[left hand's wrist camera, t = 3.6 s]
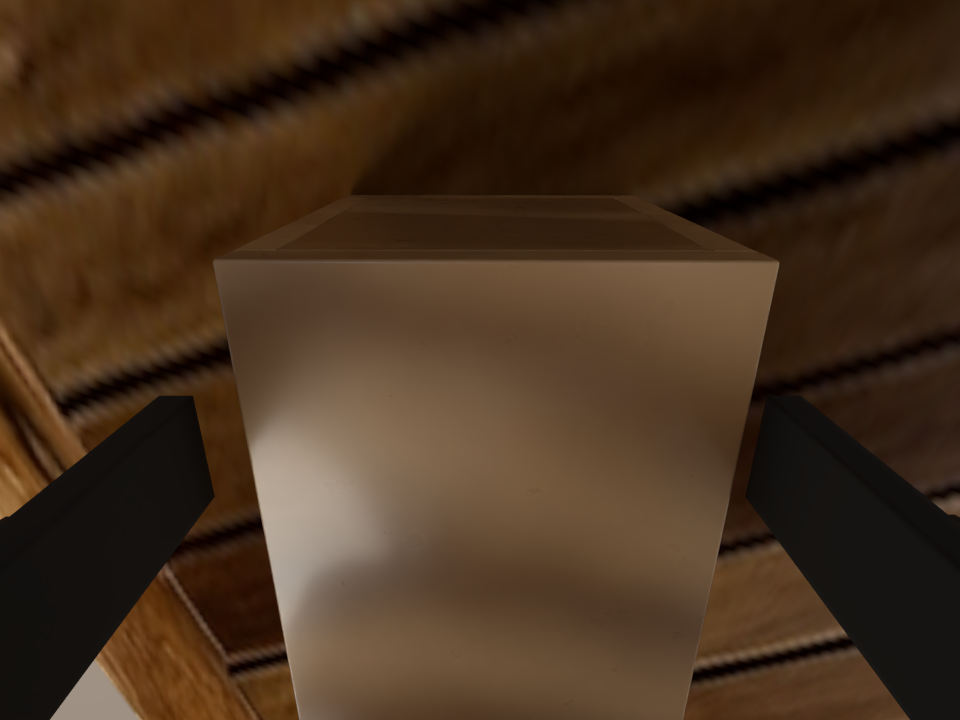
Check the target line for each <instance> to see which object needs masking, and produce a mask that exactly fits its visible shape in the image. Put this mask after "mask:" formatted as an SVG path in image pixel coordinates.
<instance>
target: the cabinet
mask: <svg viewBox="0 0 960 720" xmlns="http://www.w3.org/2000/svg"><path fill="white" fill-rule="evenodd" d="M213 264H214V270H215V275H216V280H217V286H218V291H219V296H220V302H221V307H222V312H223V318H224V323H225V328H226V333H227V339H228V344H229V349H230V355H231V360H232V365H233V371H234V376H235V381H236V386H237V392H238V397H239V402H240V408H241V413H242V418H243V424H244V429H245V434H246V439H247V445H248V450H249V455H250V461H251V466H252V471H253V477H254V482H255V487H256V493H257V498H258V503H259V508H260V514H261V519H262V524H263V530H264V535H265V540H266V546H267V551H268V556H269V561H270V567H271V572H272V577H273V583H274V588H275V593H276V599H277V604H278V609H279V614H280V620H281V625H282V630H283V636H284V641H285V646H286V652H287V657H288V662H289V667H290V673H291V678H292V683H293V689H294V694H295V699H296V705H297V710H298V715H299V720H683V717H684V712H685V708H686V703H687V698H688V693H689V689H690V684H691V679H692V675H693V670H694V665H695V660H696V656H697V651H698V646H699V641H700V637H701V632H702V627H703V623H704V618H705V613H706V608H707V604H708V599H709V594H710V590H711V585H712V580H713V575H714V571H715V566H716V561H717V556H718V552H719V547H720V542H721V538H722V533H723V528H724V523H725V519H726V514H727V509H728V504H729V500H730V495H731V490H732V486H733V481H734V476H735V471H736V467H737V462H738V457H739V452H740V448H741V443H742V438H743V434H744V429H745V424H746V419H747V415H748V410H749V405H750V401H751V396H752V391H753V386H754V382H755V377H756V372H757V367H758V363H759V358H760V353H761V349H762V344H763V339H764V334H765V330H766V325H767V320H768V315H769V311H770V306H771V301H772V297H773V292H774V287H775V282H776V278H777V273H778V268H779V261H777V260H775V259H773V258H771V257H769V256H766V255H764V254H762V253H760V252H758V251H754V250H752V249H750V248H748V247H745V246H743V245H741V244H739V243H737V242H734V241H732V240H730V239H728V238H726V237H723V236H721V235H719V234H717V233H715V232H712V231H710V230H708V229H706V228H703V227H701V226H699V225H697V224H695V223H692V222H690V221H688V220H686V219H684V218H681V217H679V216H677V215H675V214H673V213H670V212H668V211H666V210H664V209H662V208H659V207H657V206H655V205H653V204H651V203H648V202H646V201H644V200H642V199H640V198H638V197H636V196H633V195H348V196H346V197H344V198H342V199H340V200H338V201H335V202H333V203H331V204H329V205H327V206H325V207H323V208H321V209H319V210H317V211H315V212H312V213H310V214H308V215H306V216H304V217H302V218H300V219H298V220H296V221H294V222H292V223H289V224H287V225H285V226H283V227H281V228H279V229H277V230H275V231H273V232H271V233H269V234H267V235H264V236H262V237H260V238H258V239H256V240H254V241H252V242H250V243H248V244H246V245H244V246H241V247H239V248H237V249H235V250H233V251H231V252H229V253H227V254H225V255H223V256H221V257H218V258H216V259H214V261H213Z"/></svg>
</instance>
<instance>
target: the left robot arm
mask: <svg viewBox="0 0 960 720" xmlns="http://www.w3.org/2000/svg"><path fill="white" fill-rule="evenodd" d="M214 497H215V496H214V492H213V487H212V482H211V478H210V473H209V468H208V464H207V459H206V455H205V450H204V445H203V441H202V436H201V431H200V427H199V422H198V417H197V413H196V408H195V404H194V399H193V396H159V397H157V398H156V399H155V400H154V401H152V402H151V403H150V404H149V405H147V406H146V407H145V408H144V409H142V410H141V411H140V412H139V413H137V414H136V415H135V416H134V417H133V418H131V419H130V420H129V421H128V422H126V423H125V424H124V425H123V426H121V427H120V428H119V429H118V430H116V431H115V432H114V433H113V434H111V435H110V436H109V437H108V438H106V439H105V440H104V441H103V442H102V443H100V444H99V445H98V446H97V447H95V448H94V449H93V450H92V451H90V452H89V453H88V454H87V455H85V456H84V457H83V458H82V459H80V460H79V461H78V462H77V463H76V464H74V465H73V466H72V467H71V468H69V469H68V470H67V471H66V472H64V473H63V474H62V475H61V476H59V477H58V478H57V479H56V480H54V481H53V482H52V483H51V484H49V485H48V486H47V487H46V488H45V489H43V490H42V491H41V492H40V493H38V494H37V495H36V496H35V497H33V498H32V499H31V500H30V501H28V502H27V503H26V504H25V505H23V506H22V507H21V508H20V509H19V510H17V511H16V512H15V513H14V514H12V515H11V516H10V517H4V518H3V519H1V520H0V720H50V719H51V717H52V716H53V715H54V713H55V712H56V711H57V709H58V708H59V707H60V705H61V704H62V703H63V701H64V700H65V698H66V697H67V696H68V694H69V693H70V692H71V690H72V689H73V688H74V686H75V685H76V684H77V682H78V681H79V679H80V678H81V677H82V675H83V674H84V673H85V671H86V670H87V669H88V667H89V666H90V665H91V663H92V662H93V661H94V659H95V658H96V656H97V655H98V654H99V652H100V651H101V650H102V648H103V647H104V646H105V644H106V643H107V642H108V640H109V639H110V638H111V636H112V635H113V633H114V632H115V631H116V629H117V628H118V627H119V625H120V624H121V623H122V621H123V620H124V619H125V617H126V616H127V614H128V613H129V612H130V610H131V609H132V608H133V606H134V605H135V604H136V602H137V601H138V600H139V598H140V597H141V596H142V594H143V593H144V591H145V590H146V589H147V587H148V586H149V585H150V583H151V582H152V581H153V579H154V578H155V577H156V575H157V574H158V572H159V571H160V570H161V568H162V567H163V566H164V564H165V563H166V562H167V560H168V559H169V558H170V556H171V555H172V554H173V552H174V551H175V549H176V548H177V547H178V545H179V544H180V543H181V541H182V540H183V539H184V537H185V536H186V535H187V533H188V532H189V531H190V529H191V528H192V526H193V525H194V524H195V522H196V521H197V520H198V518H199V517H200V516H201V514H202V513H203V512H204V510H205V509H206V507H207V506H208V505H209V503H210V502H211V501H212V499H213V498H214ZM745 497H746V498H747V499H748V501H749V502H750V503H751V505H752V506H753V507H754V509H755V510H756V512H757V513H758V514H759V516H760V517H761V518H762V520H763V521H764V522H765V524H766V525H767V526H768V528H769V529H770V531H771V532H772V533H773V535H774V536H775V537H776V539H777V540H778V541H779V543H780V544H781V545H782V547H783V548H784V549H785V551H786V552H787V554H788V555H789V556H790V558H791V559H792V560H793V562H794V563H795V564H796V566H797V567H798V568H799V570H800V571H801V572H802V574H803V575H804V577H805V578H806V579H807V581H808V582H809V583H810V585H811V586H812V587H813V589H814V590H815V591H816V593H817V594H818V596H819V597H820V598H821V600H822V601H823V602H824V604H825V605H826V606H827V608H828V609H829V610H830V612H831V613H832V614H833V616H834V617H835V619H836V620H837V621H838V623H839V624H840V625H841V627H842V628H843V629H844V631H845V632H846V633H847V635H848V636H849V638H850V639H851V640H852V642H853V643H854V644H855V646H856V647H857V648H858V650H859V651H860V652H861V654H862V655H863V656H864V658H865V659H866V661H867V662H868V663H869V665H870V666H871V667H872V669H873V670H874V671H875V673H876V674H877V675H878V677H879V678H880V679H881V681H882V682H883V684H884V685H885V686H886V688H887V689H888V690H889V692H890V693H891V694H892V696H893V697H894V698H895V700H896V701H897V703H898V704H899V705H900V707H901V708H902V709H903V711H904V712H905V713H906V715H907V716H908V717H909V719H910V720H960V517H958V516H956V515H948V514H946V513H945V512H944V511H943V510H941V509H940V508H939V507H938V506H937V505H935V504H934V503H933V502H932V501H930V500H929V499H928V498H927V497H925V496H924V495H923V494H922V493H920V492H919V491H918V490H917V489H915V488H914V487H913V486H912V485H910V484H909V483H908V482H907V481H906V480H904V479H903V478H902V477H901V476H899V475H898V474H897V473H896V472H894V471H893V470H892V469H891V468H889V467H888V466H887V465H886V464H884V463H883V462H882V461H881V460H880V459H878V458H877V457H876V456H875V455H873V454H872V453H871V452H870V451H868V450H867V449H866V448H865V447H863V446H862V445H861V444H860V443H858V442H857V441H856V440H855V439H854V438H852V437H851V436H850V435H849V434H847V433H846V432H845V431H844V430H842V429H841V428H840V427H839V426H837V425H836V424H835V423H834V422H832V421H831V420H830V419H829V418H827V417H826V416H825V415H824V414H823V413H821V412H820V411H819V410H818V409H816V408H815V407H814V406H813V405H811V404H810V403H809V402H808V401H806V400H805V399H804V398H803V397H801V396H767V399H766V404H765V408H764V413H763V417H762V422H761V427H760V431H759V436H758V441H757V445H756V450H755V455H754V459H753V464H752V468H751V473H750V478H749V482H748V487H747V492H746V496H745Z"/></svg>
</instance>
